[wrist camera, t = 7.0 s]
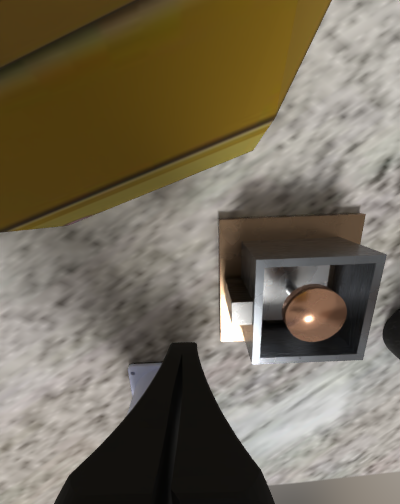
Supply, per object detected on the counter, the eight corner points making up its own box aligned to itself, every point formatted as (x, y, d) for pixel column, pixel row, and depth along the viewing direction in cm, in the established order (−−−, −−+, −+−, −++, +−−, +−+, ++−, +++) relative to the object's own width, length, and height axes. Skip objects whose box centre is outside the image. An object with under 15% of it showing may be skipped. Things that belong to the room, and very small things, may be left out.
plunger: (319, 314, 22) (353, 351, 17) (253, 317, 22) (269, 355, 17) (328, 251, 20) (370, 273, 15) (255, 254, 20) (274, 277, 15)
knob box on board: (338, 331, 24) (382, 377, 18) (220, 336, 24) (227, 384, 18) (359, 213, 20) (423, 224, 14) (218, 218, 20) (227, 232, 14)
